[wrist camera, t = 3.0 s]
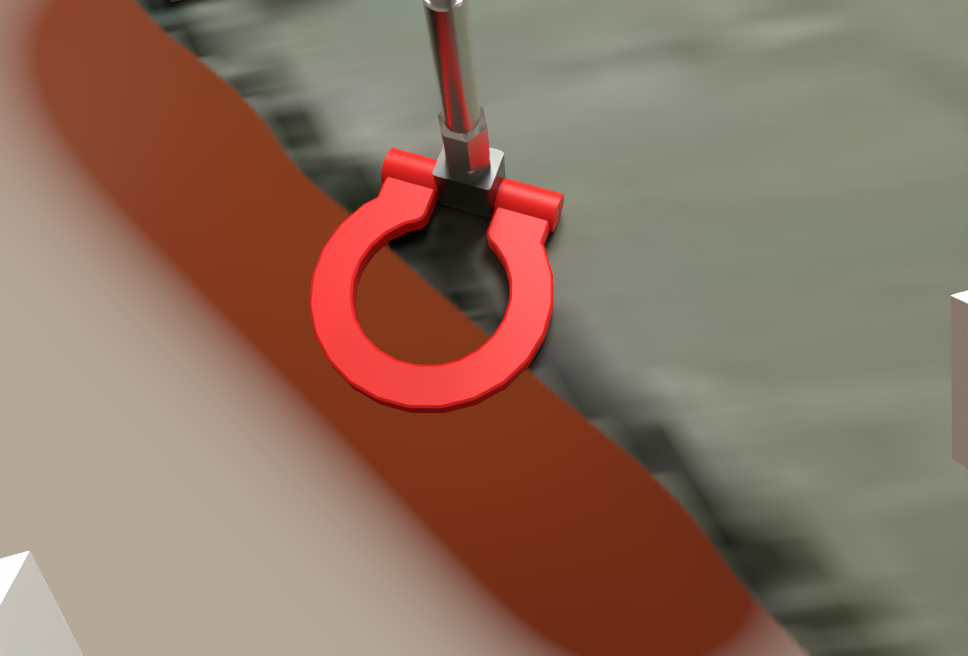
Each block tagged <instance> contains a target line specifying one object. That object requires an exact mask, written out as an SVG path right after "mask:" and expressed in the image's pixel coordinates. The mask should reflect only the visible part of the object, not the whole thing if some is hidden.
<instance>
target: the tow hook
mask: <svg viewBox="0 0 968 656" xmlns="http://www.w3.org/2000/svg"><path fill="white" fill-rule="evenodd" d="M422 2H423V8H424V13H425V19H426V25H427V30H428V36H429V42H430V48H431V53H432V59H433V65H434V70H435V76H436V82H437V87H438V93H439V99H440V105H441V110H442V111H441V112H440V113H439V115H438V119H439V124H440V130H441V135H442V141H443V148H442V150H441V153H440V155H439V157H438V160H436V159H432V158H428V157H424V156H421V155H417V154H413V153H410V152H406V151H402V150H399V149H395V148H391V149H390V150H389V152H388V153H387V155H386V157H385V160H384V163H383V167H382V174H381V179H382V183H383V185H382V188H381V190H380V192H379V195H378V197H377V198H375V199H373V200H371V201H369V202H367V203H365V204H363V205H362V206H361V207H360V208H359V209H358V210H356V211H355V212H354V213H353V214H352V215H350V216H349V217H348V218H347V219H346V220H344V221H343V222H342V223H341V224H340V225H339V227H338V228H337V229H336V231H335V232H334V234H333V235H332V236H331V238H330V239H329V240H328V242H327V243H326V245H325V246H324V248H323V249H322V252H321V255H320V257H319V260H318V262H317V265H316V267H315V270H314V272H313V275H312V284H311V293H310V303H309V306H310V311H311V317H312V322H313V328H314V333H315V336H316V338H317V340H318V341H319V344H320V346H321V347H322V349H323V351H324V353H325V355H326V357H327V359H328V361H329V362H330V364H331V365H332V367H333V368H334V369H335V370H336V371H337V372H338V373H339V374H340V375H341V376H342V377H343V378H344V379H345V380H346V381H347V382H348V383H349V384H350V386H351V387H352V388H353V389H355V390H357V391H358V392H361V393H362V394H363V395H365V396H367V397H369V398H370V399H372V400H374V401H375V402H377V403H379V404H381V405H385V406H388V407H392V408H396V409H399V410H403V411H407V412H410V413H445V412H449V411H454V410H457V409H461V408H465V407H469V406H473V405H476V404H478V403H480V402H482V401H484V400H486V399H488V398H489V397H491V396H493V395H495V394H497V393H499V392H500V391H502V390H504V389H505V388H507V387H508V386H509V385H510V384H511V383H512V382H513V381H514V380H515V379H516V378H517V377H518V376H519V375H520V374H521V373H522V372H524V371H525V370H526V369H527V368H528V367H529V365H530V363H531V362H532V360H533V358H534V357H535V355H536V354H537V352H538V350H539V349H540V347H541V345H542V344H543V342H544V341H545V337H546V334H547V330H548V326H549V323H550V319H551V316H552V312H553V274H552V270H551V267H550V264H549V260H548V257H547V254H546V250H545V247H544V245H545V242H546V239H547V236H548V233H549V231H552V232H553V231H554V230H555V228H556V226H557V224H558V221H559V218H560V215H561V211H562V207H563V202H564V194H561V193H558V192H554V191H550V190H547V189H543V188H539V187H536V186H532V185H528V184H524V183H521V182H517V181H513V180H510V179H506V178H505V164H504V153H503V152H502V151H500V150H496V149H493V148H489V141H488V130H487V124H486V120H485V115H484V111H483V107H482V106H480V105H479V97H478V87H477V78H476V68H475V58H474V49H473V39H472V30H471V20H470V10H469V1H468V0H422ZM437 200H439V203H441V204H443V205H446V206H449V207H453V208H457V209H460V210H464V211H467V212H471V213H475V214H478V215H482V216H485V217H489V218H492V219H491V222H490V224H489V227H488V230H487V232H486V235H487V242H488V245H489V248H490V249H491V250H492V251H493V252H494V253H495V254H496V255H497V257H498V258H499V260H500V262H501V263H502V265H503V267H504V268H505V270H506V274H507V278H508V281H509V285H510V297H509V303H508V306H507V309H506V313H505V316H504V319H503V320H502V322H501V324H500V325H499V327H498V328H497V330H496V331H495V333H494V335H493V336H492V337H491V338H490V339H489V340H488V341H487V342H485V343H484V344H483V345H482V346H481V347H480V348H479V349H478V350H476V351H474V352H472V353H470V354H469V355H467V356H465V357H463V358H461V359H459V360H456V361H452V362H448V363H444V364H441V365H415V364H411V363H407V362H403V361H400V360H396V359H395V358H393V357H391V356H389V355H388V354H386V353H384V352H382V351H381V350H379V349H378V348H377V347H376V346H375V345H374V344H373V343H372V342H371V341H370V340H369V339H368V338H367V337H366V336H365V334H364V333H363V330H362V329H361V327H360V325H359V320H358V316H357V311H356V294H357V286H358V284H359V281H360V278H361V276H362V272H363V270H364V269H365V267H366V266H367V264H368V263H369V261H370V260H371V259H372V257H373V256H374V254H375V253H376V252H378V251H379V250H380V249H381V248H382V247H383V246H385V245H386V244H387V243H388V242H389V241H391V240H393V239H395V238H397V237H399V236H401V235H403V234H405V233H407V232H410V231H415V230H419V229H422V228H423V227H424V226H426V225H427V224H428V222H429V219H430V217H431V215H432V212H433V210H434V207H435V205H436V202H437Z"/></svg>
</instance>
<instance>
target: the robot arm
mask: <svg viewBox="0 0 968 656" xmlns="http://www.w3.org/2000/svg"><path fill="white" fill-rule="evenodd" d="M950 296H951V397H952V459H954V460H955V461H957V462H958V463H959V464H961V465H962V466H963V467H965V468H966V469H968V291H964V292H961V293H957V294H953V295H950ZM0 656H83V654H82V652H81V650H80V648H79V646H78V644H77V642H76V640H75V638H74V636H73V635H72V632H71V630H70V629H69V627H68V625H67V623H66V621H65V619H64V617H63V615H62V613H61V611H60V609H59V607H58V605H57V603H56V601H55V599H54V597H53V595H52V593H51V591H50V589H49V587H48V585H47V583H46V581H45V580H44V577H43V576H42V574H41V572H40V570H39V568H38V566H37V564H36V562H35V560H34V558H33V556H32V554H31V552H30V551H27V552H23V553H20V554H16V555H12V556H9V557H5V558H2V559H0Z"/></svg>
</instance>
